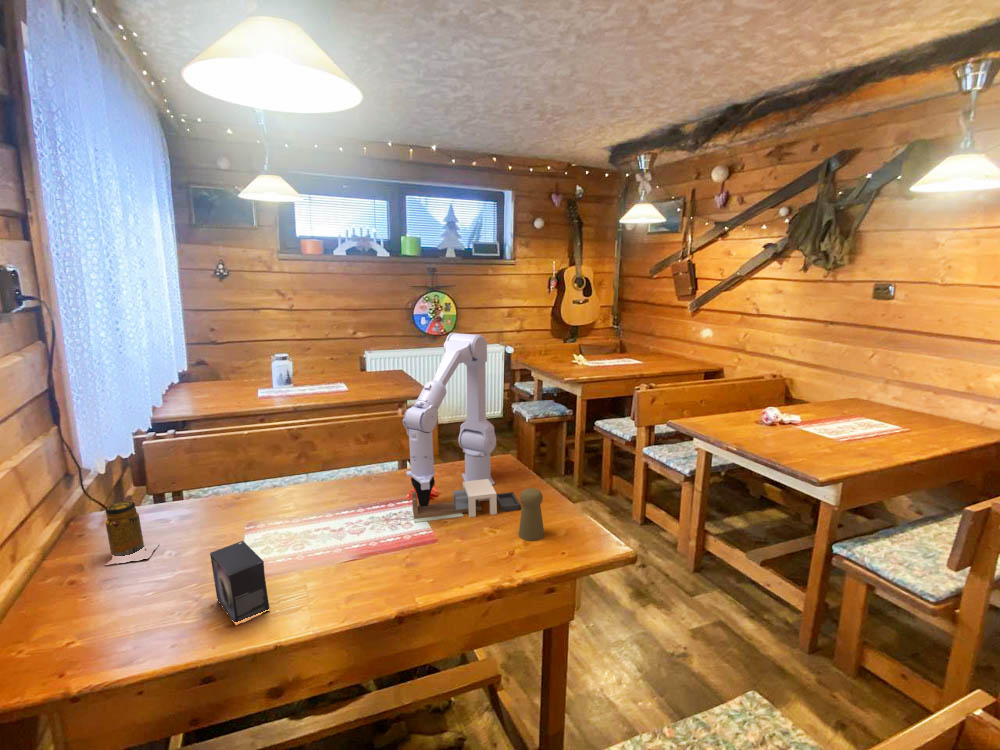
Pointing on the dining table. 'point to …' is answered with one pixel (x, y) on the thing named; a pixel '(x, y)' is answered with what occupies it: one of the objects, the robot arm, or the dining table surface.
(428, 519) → the mat
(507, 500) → the dark grey tray
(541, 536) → the olive brown pawn
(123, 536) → the condiment
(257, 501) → the dining table surface
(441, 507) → the brown t-shaped bar
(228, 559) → the small box
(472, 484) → the tunnel
